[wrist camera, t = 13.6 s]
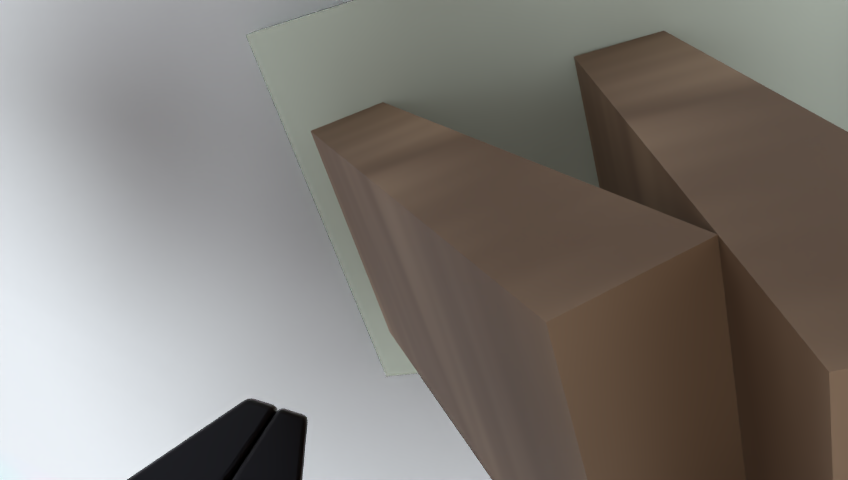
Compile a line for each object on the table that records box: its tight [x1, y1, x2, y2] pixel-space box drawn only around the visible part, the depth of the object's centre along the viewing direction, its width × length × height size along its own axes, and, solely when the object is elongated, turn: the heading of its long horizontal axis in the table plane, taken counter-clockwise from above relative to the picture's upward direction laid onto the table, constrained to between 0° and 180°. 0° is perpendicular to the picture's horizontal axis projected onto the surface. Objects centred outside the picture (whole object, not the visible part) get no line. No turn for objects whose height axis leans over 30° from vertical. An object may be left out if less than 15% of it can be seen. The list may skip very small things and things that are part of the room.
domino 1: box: [311, 102, 746, 480], centre depth 10 cm, size 2×5×9 cm
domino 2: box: [574, 31, 848, 480], centre depth 8 cm, size 2×5×9 cm, turn 18°
